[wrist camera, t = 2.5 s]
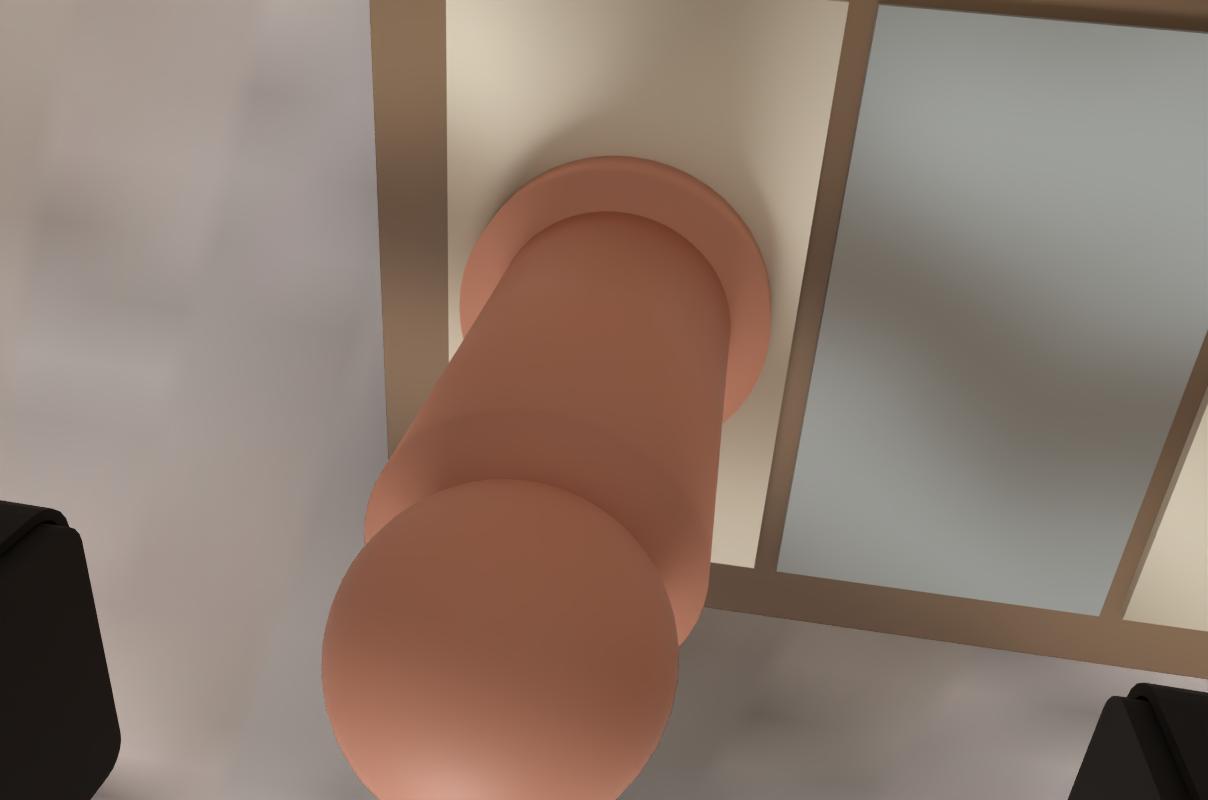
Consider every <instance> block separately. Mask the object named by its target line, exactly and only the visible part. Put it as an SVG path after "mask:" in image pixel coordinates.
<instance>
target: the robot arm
mask: <svg viewBox="0 0 1208 800" xmlns="http://www.w3.org/2000/svg"><path fill="white" fill-rule="evenodd" d="M120 744H121V734H120V728H119V723H118V718H117V713H116V708H115V703H114V698H113V693H112V688H111V683H110V678H109V673H108V668H107V663H106V658H105V653H104V648H103V643H102V638H101V633H100V628H99V623H98V618H97V613H96V608H95V603H94V598H93V593H92V588H91V583H90V578H89V573H88V568H87V564H86V559H85V554H84V549H83V544H82V540H81V537H80V534H79V533H78V532H77V531H76V530H75V529H73V528H70V527H69V525H68V522H67V520H66V518H65V517H64V515H63V514H62V513H61V512H60V511H57V510H54V509H51V508H45V507H39V506H32V505H26V504H20V503H14V502H7V501H1V500H0V800H90V799H91V798H92V797H93V795H94V794H95V793H96V792H97V790H98V789H99V788H100V786H101V785H102V784H103V782H104V781H105V780H106V778H107V777H108V776H109V774H110V772H111V771H112V769H113V767H114V765H115V763H116V760H117V758H118V754H119V751H120ZM1068 800H1208V693H1206V692H1199V691H1193V690H1187V689H1181V688H1174V687H1168V686H1162V685H1156V684H1149V683H1137V684H1136V685H1135V686H1134V687H1133V688H1132V689H1131V690H1130V692H1129V694H1128V696H1127V698H1126V697H1120V696H1112V697H1111V698H1109V699H1108V700H1107V702H1106V704H1105V706H1104V708H1103V710H1102V713H1101V715H1100V718H1099V721H1098V723H1097V726H1096V728H1095V731H1094V733H1093V736H1092V739H1091V741H1090V744H1089V746H1088V749H1087V751H1086V754H1085V757H1084V759H1083V762H1082V764H1081V767H1080V769H1079V772H1078V775H1077V777H1076V780H1075V782H1074V785H1073V787H1072V790H1071V793H1070V795H1069V798H1068Z"/></svg>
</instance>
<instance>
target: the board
mask: <svg viewBox="0 0 1208 800" xmlns="http://www.w3.org/2000/svg"><path fill="white" fill-rule="evenodd" d="M370 24H371V48H372V72H373V97H374V121H375V145H376V170H377V194H378V219H379V243H380V267H381V292H382V316H383V340H384V365H385V389H386V413H387V438H388V461H389V459H390V458H391V456H392V455H393V453H394V451H395V450H396V448H397V446H398V445H399V443H400V442H401V440H402V438H403V437H404V435H405V433H406V432H407V430H408V429H409V427H410V425H411V424H412V422H413V421H414V419H415V417H416V416H417V414H418V412H419V411H420V409H421V408H422V406H423V404H424V403H425V401H426V399H427V398H428V396H429V395H430V393H431V391H432V390H433V388H434V387H435V385H436V383H437V382H438V380H439V378H440V377H441V375H442V374H443V372H444V370H445V369H446V367H447V365H448V364H449V362H450V361H451V359H452V357H453V356H454V354H455V353H456V351H457V349H458V348H459V346H460V344H461V343H462V341H463V340H464V339H463V334H462V329H461V324H460V310H459V304H460V289H461V284H462V279H463V274H464V270H465V267H466V264H467V262H468V259H469V256H470V254H471V251H472V249H473V248H474V246H475V244H476V242H477V240H478V238H479V237H480V235H481V234H482V232H483V231H484V230H485V228H486V227H487V225H488V224H489V223H490V221H491V220H492V219H493V217H494V216H495V215H496V213H497V212H498V211H499V209H500V208H501V207H502V205H503V204H504V203H505V202H506V201H507V200H508V199H509V198H510V197H511V196H512V195H513V194H514V193H515V192H516V191H517V190H518V189H520V188H521V187H522V186H524V185H525V184H526V183H528V182H529V181H530V180H532V179H533V178H535V177H537V176H539V175H540V174H542V173H544V172H546V171H548V170H550V169H552V168H555V167H557V166H560V165H563V164H565V163H568V162H571V161H576V160H580V159H584V158H589V157H599V156H631V157H637V158H643V159H649V160H653V161H656V162H660V163H663V164H666V165H669V166H672V167H674V168H677V169H679V170H681V171H683V172H685V173H688V174H690V175H692V176H693V177H695V178H697V179H698V180H700V181H701V182H703V183H705V184H706V185H708V186H709V187H710V188H712V189H713V190H714V191H715V192H716V193H718V194H719V195H720V196H721V197H723V198H724V199H725V200H726V201H727V202H728V203H729V204H730V206H731V207H732V208H733V209H734V210H735V211H736V212H737V213H738V214H739V216H740V217H741V218H742V220H743V221H744V223H745V224H746V225H747V227H748V228H749V230H750V231H751V233H752V235H753V237H754V239H755V241H756V243H757V245H758V246H759V249H760V251H761V254H762V257H763V260H764V263H765V265H766V269H767V274H768V279H769V284H770V298H771V328H770V340H769V347H768V351H767V355H766V360H765V363H764V366H763V368H762V371H761V373H760V376H759V379H758V381H757V382H756V384H755V386H754V388H753V389H752V391H751V393H750V395H749V396H748V397H747V399H746V400H745V401H744V403H743V404H742V405H741V407H740V408H739V409H738V410H737V411H736V412H735V413H734V414H733V415H732V416H731V417H730V418H729V419H728V420H727V421H726V422H725V423H724V424H723V425H722V433H721V445H720V456H719V468H718V480H717V491H716V503H715V515H714V526H713V538H712V550H711V561H710V573H709V585H708V590H707V595H706V599H705V603H704V606H703V607H707V608H714V609H721V610H728V611H735V612H742V613H749V614H756V615H763V616H770V617H777V618H784V619H791V620H798V621H805V622H812V623H819V624H826V625H833V626H840V627H847V628H854V629H861V630H868V631H875V632H882V633H889V634H896V635H903V636H910V637H917V638H923V639H930V640H937V641H944V642H951V643H958V644H965V645H972V646H979V647H986V648H993V649H1000V650H1007V651H1014V652H1021V653H1028V654H1035V655H1042V656H1049V657H1056V658H1063V659H1070V660H1077V661H1084V662H1091V663H1098V664H1105V665H1112V666H1119V667H1126V668H1133V669H1140V670H1147V671H1154V672H1160V673H1167V674H1174V675H1181V676H1188V677H1195V678H1202V679H1208V0H370Z"/></svg>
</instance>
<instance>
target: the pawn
mask: <svg viewBox="0 0 1208 800" xmlns="http://www.w3.org/2000/svg"><path fill="white" fill-rule="evenodd" d="M459 310H460V324H461V329H462V334H463V339H464V340H463V341H462V343H461V344H460V346H459V348H458V349H457V351H456V353H455V354H454V356H453V357H452V359H451V361H450V362H449V364H448V365H447V367H446V369H445V370H444V372H443V374H442V375H441V377H440V378H439V380H438V382H437V383H436V385H435V387H434V388H433V390H432V391H431V393H430V395H429V396H428V398H427V399H426V401H425V403H424V404H423V406H422V408H421V409H420V411H419V412H418V414H417V416H416V417H415V419H414V421H413V422H412V424H411V425H410V427H409V429H408V430H407V432H406V433H405V435H404V437H403V438H402V440H401V442H400V443H399V445H398V446H397V448H396V450H395V451H394V453H393V455H392V456H391V458H390V459H389V461H388V463H387V464H386V466H385V467H384V469H383V471H382V473H381V474H380V476H379V478H378V480H377V482H376V483H375V485H374V488H373V491H372V494H371V496H370V499H369V502H368V507H367V513H366V518H365V543H366V545H365V547H364V548H363V549H362V550H361V552H360V553H359V554H358V556H357V557H356V559H355V560H354V561H353V563H352V564H351V566H350V568H349V569H348V571H347V573H346V575H345V576H344V578H343V580H342V582H341V584H340V587H339V589H338V591H337V593H336V595H335V598H334V601H333V604H332V606H331V609H330V613H329V616H328V620H327V624H326V629H325V634H324V640H323V650H322V683H323V691H324V698H325V704H326V710H327V713H328V716H329V719H330V722H331V725H332V728H333V731H334V734H335V737H336V740H337V742H338V744H339V746H340V748H341V750H342V752H343V754H344V756H345V757H346V759H347V760H348V762H349V764H350V765H351V767H352V768H353V770H354V771H355V773H356V774H357V776H358V777H359V779H360V780H361V781H362V782H363V783H364V785H365V786H366V787H367V788H368V789H369V790H370V791H371V792H372V793H373V794H374V795H375V796H376V797H377V798H378V799H379V800H616V799H617V798H618V797H619V796H620V795H621V794H622V792H623V791H624V790H625V789H626V788H627V787H628V786H629V785H630V784H631V783H632V782H633V781H634V780H635V778H636V777H637V776H638V775H639V774H640V772H641V771H642V769H643V768H644V766H645V765H646V763H647V762H648V760H649V758H650V757H651V755H652V754H653V752H654V751H655V749H656V748H657V746H658V744H659V741H660V739H661V736H662V734H663V732H664V729H665V727H666V724H667V722H668V719H669V717H670V715H671V710H672V706H673V701H674V697H675V692H676V687H677V682H678V665H679V646H680V645H681V644H682V643H683V642H684V640H685V639H686V638H687V637H688V635H689V634H690V632H691V631H692V629H693V627H694V626H695V624H696V623H697V621H698V618H699V616H700V614H701V611H702V609H703V606H704V603H705V599H706V595H707V590H708V585H709V573H710V561H711V550H712V538H713V526H714V515H715V503H716V491H717V480H718V468H719V456H720V445H721V433H722V425H723V424H724V423H725V422H726V421H727V420H728V419H729V418H730V417H731V416H732V415H733V414H734V413H735V412H736V411H737V410H738V409H739V408H740V407H741V405H742V404H743V403H744V401H745V400H746V399H747V397H748V396H749V395H750V393H751V391H752V389H753V388H754V386H755V384H756V382H757V381H758V379H759V376H760V373H761V371H762V368H763V366H764V363H765V360H766V355H767V351H768V347H769V340H770V328H771V298H770V284H769V279H768V274H767V269H766V265H765V263H764V260H763V257H762V254H761V251H760V249H759V246H758V245H757V243H756V241H755V239H754V237H753V235H752V233H751V231H750V230H749V228H748V227H747V225H746V224H745V223H744V221H743V220H742V218H741V217H740V216H739V214H738V213H737V212H736V211H735V210H734V209H733V208H732V207H731V206H730V204H729V203H728V202H727V201H726V200H725V199H724V198H723V197H721V196H720V195H719V194H718V193H716V192H715V191H714V190H713V189H712V188H710V187H709V186H708V185H706V184H705V183H703V182H701V181H700V180H698V179H697V178H695V177H693V176H692V175H690V174H688V173H685V172H683V171H681V170H679V169H677V168H674V167H672V166H669V165H666V164H663V163H660V162H656V161H653V160H649V159H643V158H637V157H631V156H599V157H589V158H584V159H580V160H576V161H571V162H568V163H565V164H563V165H560V166H557V167H555V168H552V169H550V170H548V171H546V172H544V173H542V174H540V175H539V176H537V177H535V178H533V179H532V180H530V181H529V182H528V183H526V184H525V185H524V186H522V187H521V188H520V189H518V190H517V191H516V192H515V193H514V194H513V195H512V196H511V197H510V198H509V199H508V200H507V201H506V202H505V203H504V204H503V205H502V207H501V208H500V209H499V211H498V212H497V213H496V215H495V216H494V217H493V219H492V220H491V221H490V223H489V224H488V225H487V227H486V228H485V230H484V231H483V232H482V234H481V235H480V237H479V238H478V240H477V242H476V244H475V246H474V248H473V249H472V251H471V254H470V256H469V259H468V262H467V264H466V267H465V270H464V274H463V279H462V284H461V289H460V304H459Z"/></svg>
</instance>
